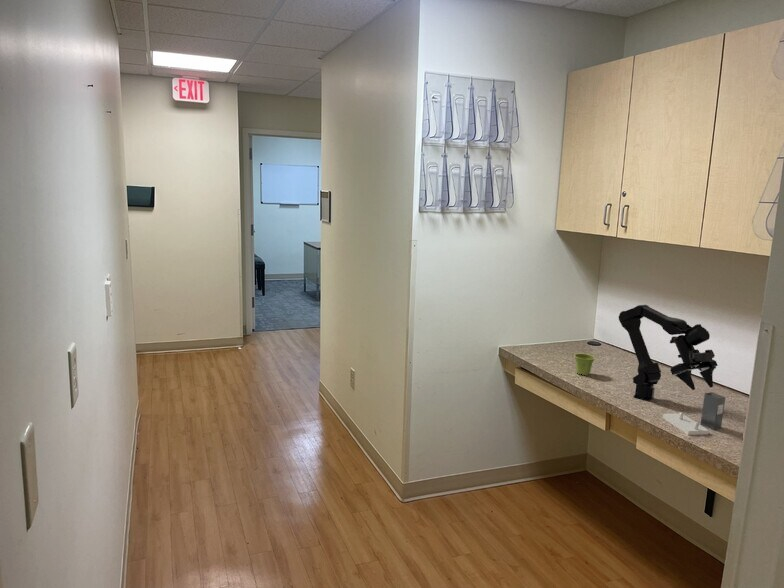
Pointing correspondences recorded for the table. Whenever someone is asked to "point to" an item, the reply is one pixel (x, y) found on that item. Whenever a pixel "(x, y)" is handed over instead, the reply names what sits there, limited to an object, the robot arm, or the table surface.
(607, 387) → the table surface
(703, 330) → the robot arm
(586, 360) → the plant pot
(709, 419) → the block
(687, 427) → the dock
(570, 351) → the table surface
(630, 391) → the table surface
